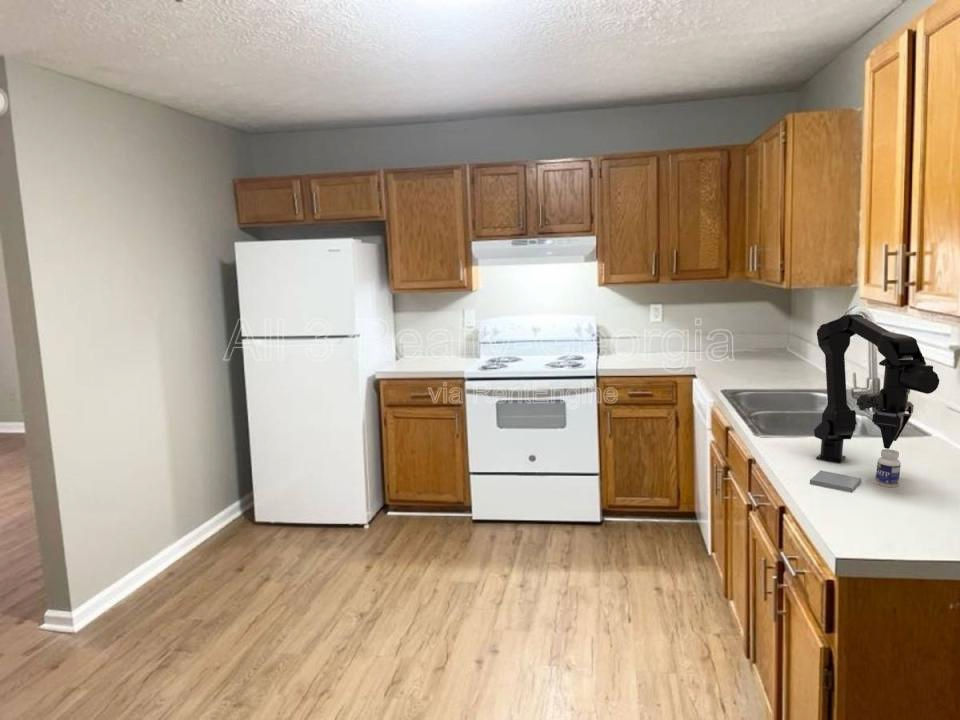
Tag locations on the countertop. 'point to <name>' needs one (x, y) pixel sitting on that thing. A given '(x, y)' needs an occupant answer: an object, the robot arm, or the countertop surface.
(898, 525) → the countertop surface
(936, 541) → the countertop surface
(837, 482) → the ceramic coaster
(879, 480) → the pill bottle
